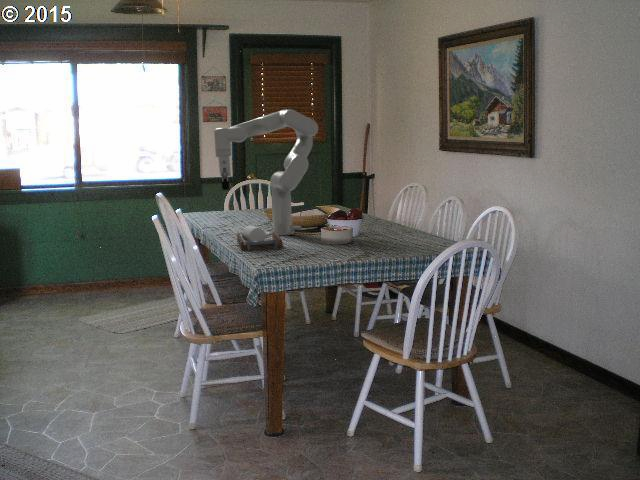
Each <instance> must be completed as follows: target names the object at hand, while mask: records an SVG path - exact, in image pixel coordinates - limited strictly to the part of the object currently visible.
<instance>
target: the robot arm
mask: <svg viewBox="0 0 640 480" xmlns="http://www.w3.org/2000/svg"><path fill="white" fill-rule="evenodd" d="M288 127H289V128H291V129H293V130H294V132H295V135H296V141H295V144H294V145H293V147H292V149H291V150H290V152H288V154H287V156H286V157H285V159H284V162H283V168H284V169H285V170H284V171H276V172H274V173H273V174H272V175H271V177H270V180H269V181H270V191H271V199H272V200H271V201H272V202H271V203H272V205H271V207H272V230H271V231H269V233H270V236H272V231H275V232H276V233H277V234H278V236H290V234H292V235H294V234H293V233H295V234H296V230H297V231H299V230H302V226H301V225H293V224H292V220H293V219H292V194H291V192H292V191H294V190H295V189H296V188H297V186H298V185H299V183H300V182H301V181H302V179H303V177H304V175H305V174H306V173H307V171H308V169H309V165H310V164H309V159H308V156H309V155H310V153H311V151H312V149H313V142H314V140H313V137H314V136H315V135H317V133H318V132H319V125H318V123H317V122H316V121H315V120H314V119H313V118H310V117H309V116H307V115H304V114H303V113H301V112H298V111H296V110H294V109H281V110H278V111H275V112H272V113H269V114H266V115H263V116H260V117H257V118H254V119H251V120H249V121H245V122H241V123H238V124H236V125H232V126H230V127H217V128H215V129H214V132H213V133H214V136H213V137H214V149H215V157H216V158H218V169H219V170H218V171H219V174H220V175H219V176H220V178H221V188H222V190H223V191H229V190H230V183H229V182H230V181H229V178H230V177H231V176H232V175H231V174H232V173H231V159H230V157H232V145H231V144H232V143H243V142H245V140H246V139H247V138H250V137H253V136H261V135H266V134H270V133H272V132H275V131H279V130H281V129H282V130H283V129H285V128H288Z"/></svg>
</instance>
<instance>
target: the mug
mask: <svg viewBox="0 0 640 480" xmlns="http://www.w3.org/2000/svg"><path fill="white" fill-rule="evenodd" d="M270 236H271V234H270V231H264V229H262V228H261V227H259V226H254V225H251V224H250V225H247V226H245V227H243V228H242V231H241V237H242V239H243V241H244V242H246V243H247V241H262V240H266V237H270Z"/></svg>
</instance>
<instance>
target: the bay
mask: <svg viewBox="0 0 640 480" xmlns="http://www.w3.org/2000/svg"><path fill="white" fill-rule="evenodd" d="M271 231H272V235H271V236H272V239H267V240H266V239H265V240H262V241H247V242H246V244H245V240H244V239H243V238H242V234H240V232H236V242H237V244H238V246H239V249H240V251H247V252H251V251H259V250H260V251H261V250H275V251H277V250H281V249H283V239H282V238H281V237H280V235H278V234H277V233H276V232H275V231H273V230H271Z"/></svg>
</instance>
